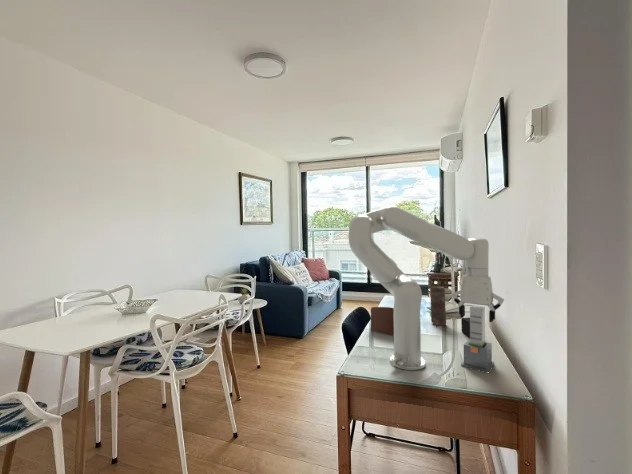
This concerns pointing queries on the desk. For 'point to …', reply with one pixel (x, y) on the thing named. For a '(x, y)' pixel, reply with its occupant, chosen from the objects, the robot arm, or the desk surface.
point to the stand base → (478, 357)
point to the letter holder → (382, 320)
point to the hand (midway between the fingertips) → (476, 318)
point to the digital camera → (466, 326)
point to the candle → (438, 305)
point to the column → (477, 326)
